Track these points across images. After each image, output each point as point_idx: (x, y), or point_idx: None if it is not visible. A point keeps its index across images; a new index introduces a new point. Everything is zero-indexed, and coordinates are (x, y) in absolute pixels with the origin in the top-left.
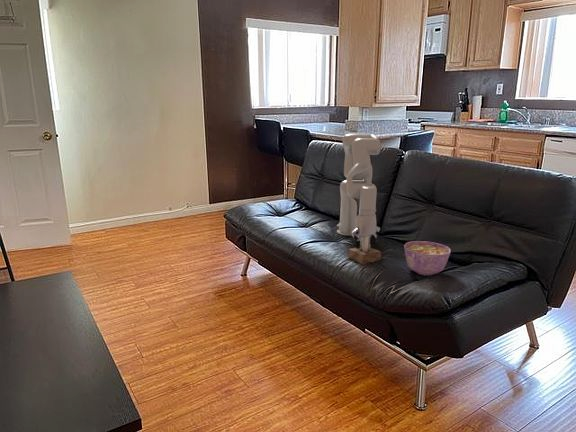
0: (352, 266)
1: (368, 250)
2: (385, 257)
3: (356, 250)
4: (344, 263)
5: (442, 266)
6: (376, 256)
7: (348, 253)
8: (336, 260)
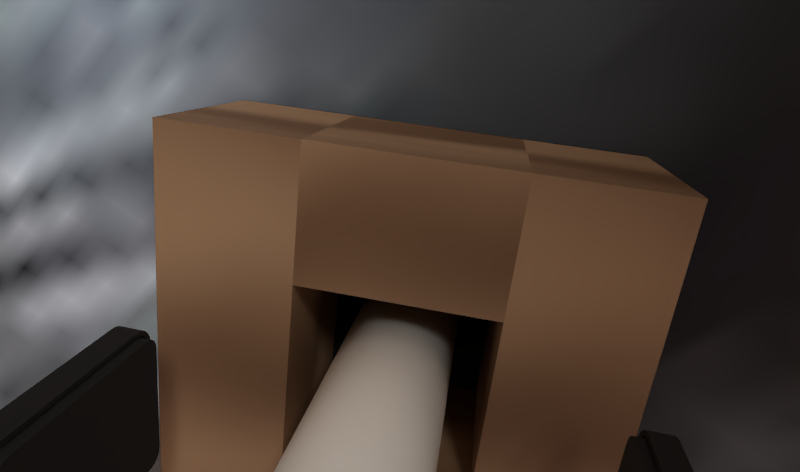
0: None
1: (483, 410)
2: (766, 468)
3: (232, 295)
4: (43, 245)
5: None
6: None
7: (207, 108)
8: (5, 80)
